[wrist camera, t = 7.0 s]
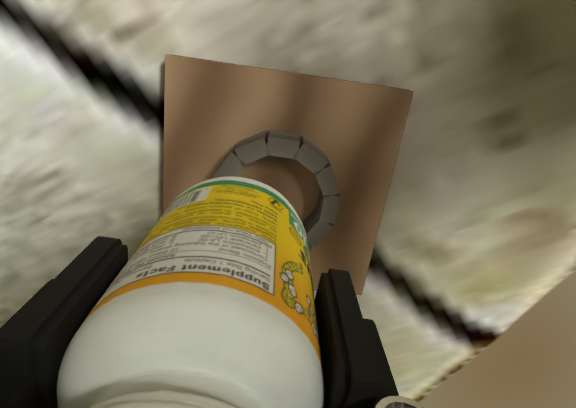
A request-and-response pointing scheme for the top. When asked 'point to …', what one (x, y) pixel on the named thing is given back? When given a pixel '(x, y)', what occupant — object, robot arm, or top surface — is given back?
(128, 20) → the top surface
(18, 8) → the top surface
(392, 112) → the collar board
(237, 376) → the supplement bottle
